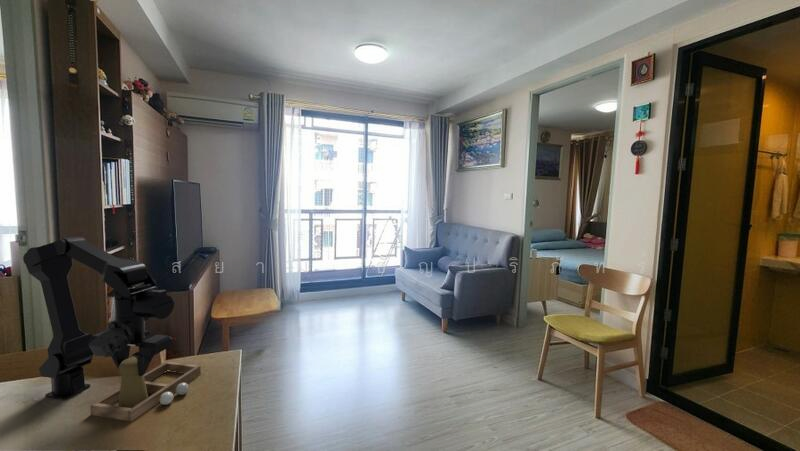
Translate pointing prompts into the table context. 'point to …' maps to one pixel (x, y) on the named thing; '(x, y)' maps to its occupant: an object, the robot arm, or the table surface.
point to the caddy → (157, 389)
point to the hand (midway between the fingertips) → (132, 374)
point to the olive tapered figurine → (131, 384)
